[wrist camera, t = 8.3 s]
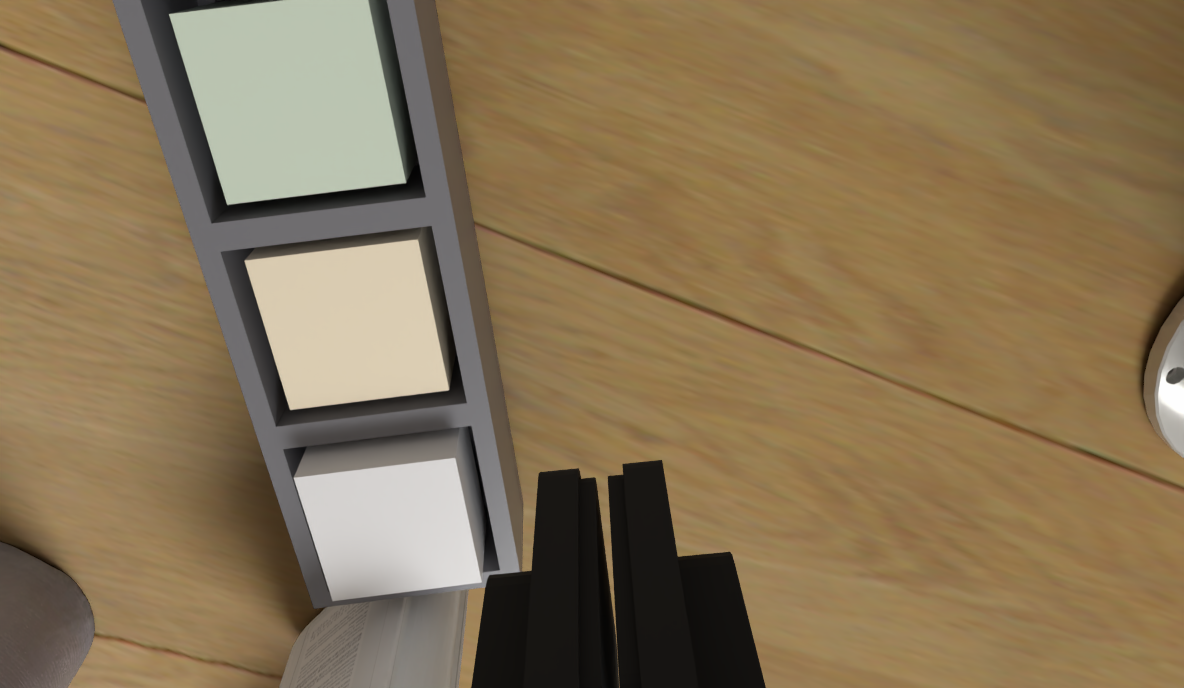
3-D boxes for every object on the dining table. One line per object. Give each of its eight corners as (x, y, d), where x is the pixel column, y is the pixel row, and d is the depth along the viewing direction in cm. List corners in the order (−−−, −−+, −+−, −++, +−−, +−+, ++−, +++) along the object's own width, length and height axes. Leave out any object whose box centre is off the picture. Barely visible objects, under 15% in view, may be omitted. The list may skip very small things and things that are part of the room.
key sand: (430, 205, 33) (418, 239, 30) (457, 343, 36) (449, 390, 32) (275, 224, 33) (244, 260, 30) (314, 361, 36) (289, 409, 32)
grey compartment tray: (422, -69, 30) (401, -66, 25) (523, 503, 41) (521, 582, 36) (172, -39, 30) (102, -30, 25) (340, 526, 41) (313, 608, 36)
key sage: (386, -19, 30) (365, -10, 26) (420, 153, 32) (406, 182, 29) (212, 2, 30) (169, 14, 26) (260, 173, 32) (227, 204, 29)
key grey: (463, 403, 35) (455, 457, 32) (486, 520, 38) (481, 582, 35) (317, 421, 35) (293, 477, 32) (351, 536, 38) (332, 601, 35)
